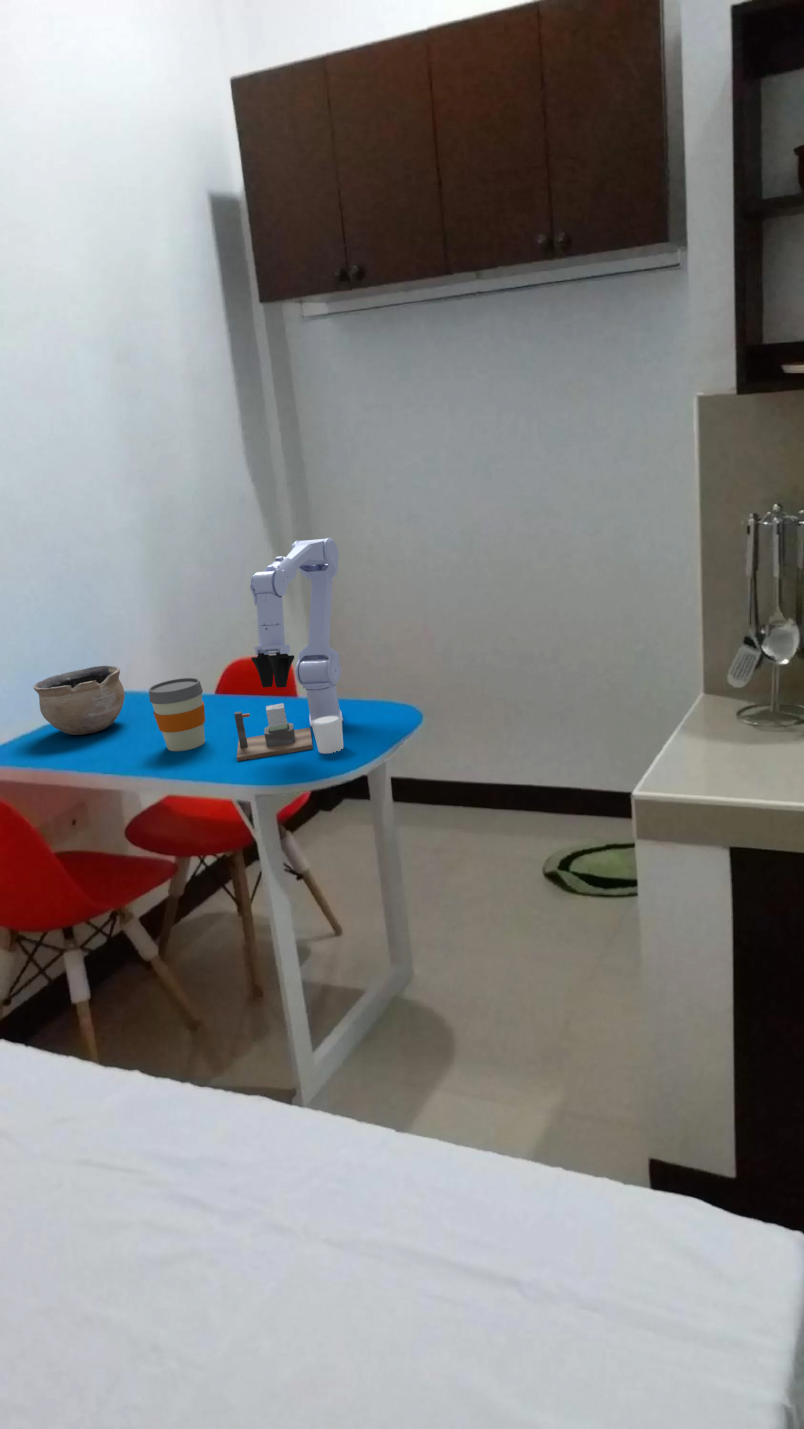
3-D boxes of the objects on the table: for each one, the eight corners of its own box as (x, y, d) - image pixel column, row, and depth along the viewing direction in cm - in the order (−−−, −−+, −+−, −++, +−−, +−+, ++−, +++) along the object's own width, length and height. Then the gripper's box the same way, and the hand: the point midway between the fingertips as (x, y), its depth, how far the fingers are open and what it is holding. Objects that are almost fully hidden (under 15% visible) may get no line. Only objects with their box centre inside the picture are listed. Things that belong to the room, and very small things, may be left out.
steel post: (271, 738, 252) (265, 706, 249) (289, 735, 252) (283, 703, 250) (271, 744, 248) (265, 710, 245) (289, 741, 248) (284, 707, 246)
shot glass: (312, 749, 244) (307, 719, 242) (340, 742, 246) (336, 712, 244) (320, 756, 238) (315, 726, 236) (350, 749, 240) (345, 719, 238)
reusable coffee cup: (161, 757, 254) (148, 696, 250) (158, 743, 265) (146, 684, 261) (215, 746, 256) (203, 685, 252) (209, 732, 268) (198, 674, 264)
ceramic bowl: (65, 749, 272) (51, 691, 268) (33, 736, 289) (20, 682, 285) (145, 724, 285) (133, 668, 281) (110, 712, 302) (98, 660, 297)
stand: (239, 743, 256) (232, 706, 254) (310, 731, 257) (304, 694, 255) (237, 761, 243) (230, 722, 240) (312, 748, 244) (306, 709, 241)
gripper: (241, 627, 244) (244, 688, 245) (267, 624, 231) (270, 688, 232) (270, 626, 247) (273, 686, 248) (297, 623, 235) (300, 686, 236)
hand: (274, 687), depth 241 cm, fingers open, 7 cm apart
